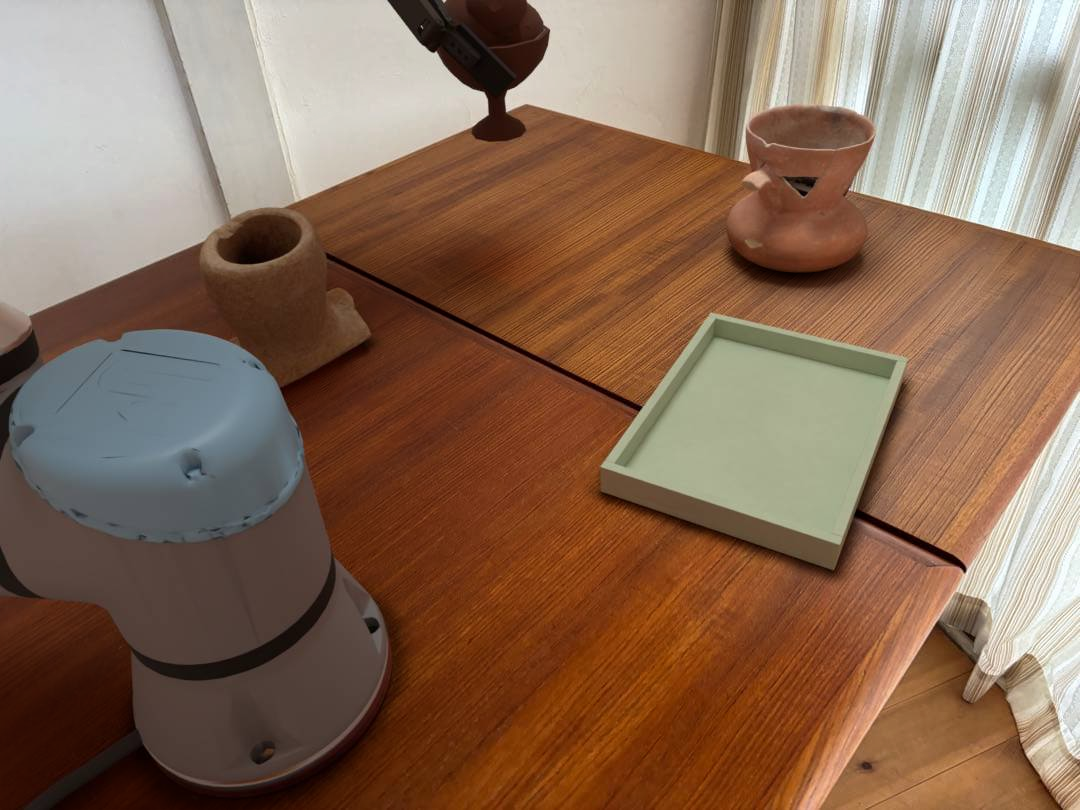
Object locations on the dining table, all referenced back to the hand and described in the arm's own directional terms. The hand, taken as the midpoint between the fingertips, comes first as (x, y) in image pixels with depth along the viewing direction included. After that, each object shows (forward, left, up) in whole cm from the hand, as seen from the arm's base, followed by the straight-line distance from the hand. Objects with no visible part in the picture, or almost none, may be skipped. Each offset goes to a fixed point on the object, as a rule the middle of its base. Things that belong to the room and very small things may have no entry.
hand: (521, 68), depth 81 cm
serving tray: (-18, -31, -21) cm, 41 cm away
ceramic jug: (+13, -25, -21) cm, 35 cm away
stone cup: (-26, +11, -21) cm, 35 cm away
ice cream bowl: (-1, +3, -6) cm, 7 cm away
